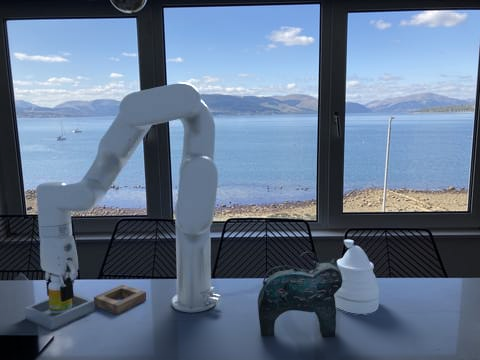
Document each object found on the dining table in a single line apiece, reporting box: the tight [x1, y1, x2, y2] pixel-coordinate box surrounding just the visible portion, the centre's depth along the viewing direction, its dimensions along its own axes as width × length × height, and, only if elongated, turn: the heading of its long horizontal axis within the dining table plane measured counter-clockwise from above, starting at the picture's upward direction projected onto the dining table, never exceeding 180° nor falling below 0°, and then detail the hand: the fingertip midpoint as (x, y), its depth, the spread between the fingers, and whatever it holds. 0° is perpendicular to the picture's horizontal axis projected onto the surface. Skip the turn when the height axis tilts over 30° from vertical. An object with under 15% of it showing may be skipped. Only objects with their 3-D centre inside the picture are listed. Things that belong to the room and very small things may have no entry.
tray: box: [24, 292, 96, 332], centre depth 94 cm, size 12×12×3 cm
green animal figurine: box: [257, 251, 343, 338], centre depth 84 cm, size 20×6×20 cm, turn 90°
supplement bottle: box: [48, 271, 72, 313], centre depth 94 cm, size 5×5×10 cm
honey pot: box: [334, 239, 380, 315], centre depth 99 cm, size 13×13×18 cm
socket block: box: [93, 284, 147, 315], centre depth 101 cm, size 10×10×2 cm
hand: (60, 296), depth 94 cm, fingers closed on supplement bottle, 5 cm apart
